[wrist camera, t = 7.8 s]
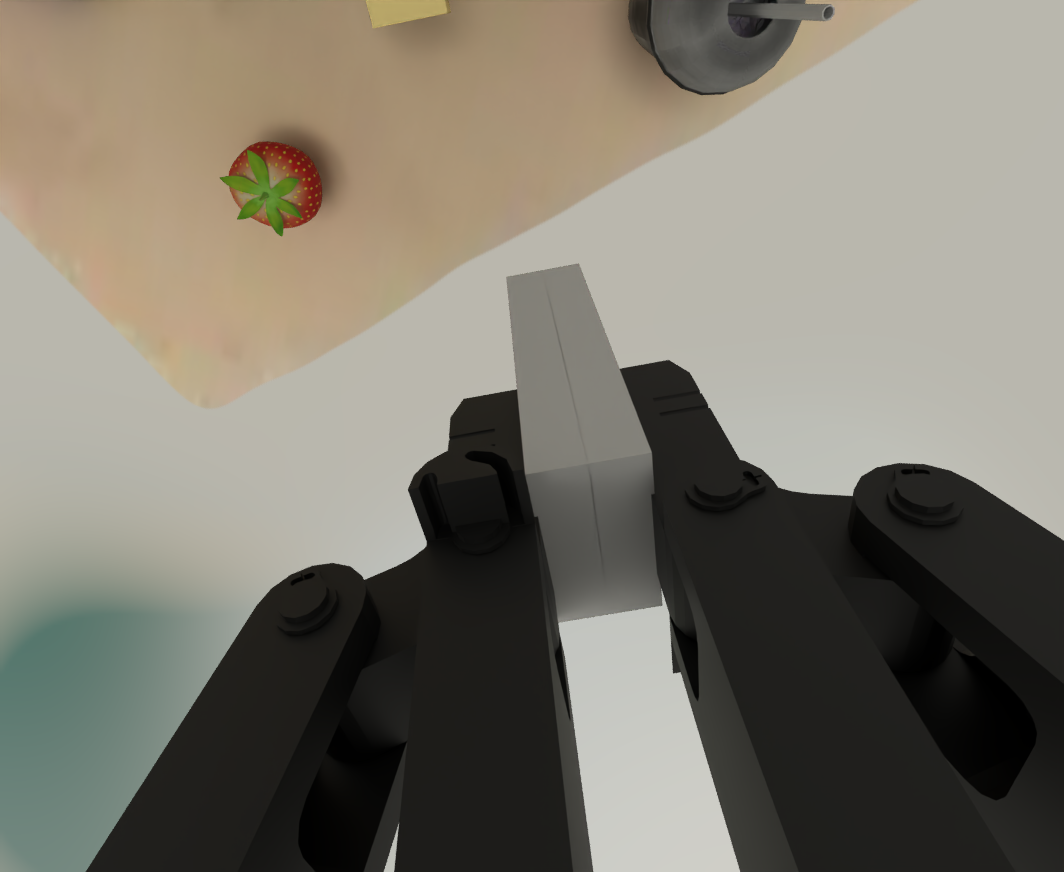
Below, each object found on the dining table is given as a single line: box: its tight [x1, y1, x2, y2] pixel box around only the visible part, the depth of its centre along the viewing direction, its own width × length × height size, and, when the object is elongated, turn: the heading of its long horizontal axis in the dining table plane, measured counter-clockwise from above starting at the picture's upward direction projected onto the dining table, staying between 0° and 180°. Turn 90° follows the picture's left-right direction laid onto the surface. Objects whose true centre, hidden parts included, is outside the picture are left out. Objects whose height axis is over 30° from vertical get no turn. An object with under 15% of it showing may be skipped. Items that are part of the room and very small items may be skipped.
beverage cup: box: [628, 0, 835, 95], centre depth 31 cm, size 7×7×20 cm
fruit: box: [220, 142, 322, 236], centre depth 39 cm, size 5×5×8 cm
